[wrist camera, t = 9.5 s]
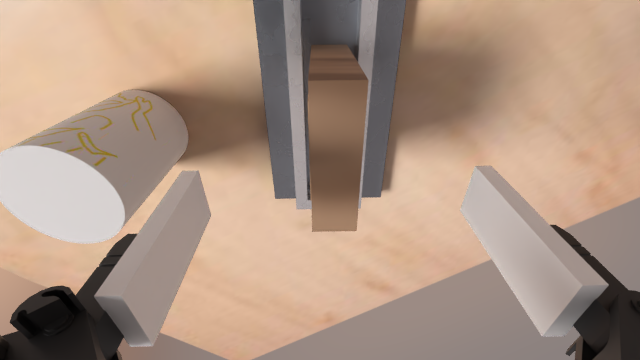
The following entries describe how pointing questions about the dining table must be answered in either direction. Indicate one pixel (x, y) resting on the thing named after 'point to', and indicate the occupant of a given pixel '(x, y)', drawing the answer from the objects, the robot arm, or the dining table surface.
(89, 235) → the yellow-veined white cylinder
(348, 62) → the door panel
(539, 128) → the dining table surface
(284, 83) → the track
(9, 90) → the dining table surface
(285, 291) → the dining table surface
